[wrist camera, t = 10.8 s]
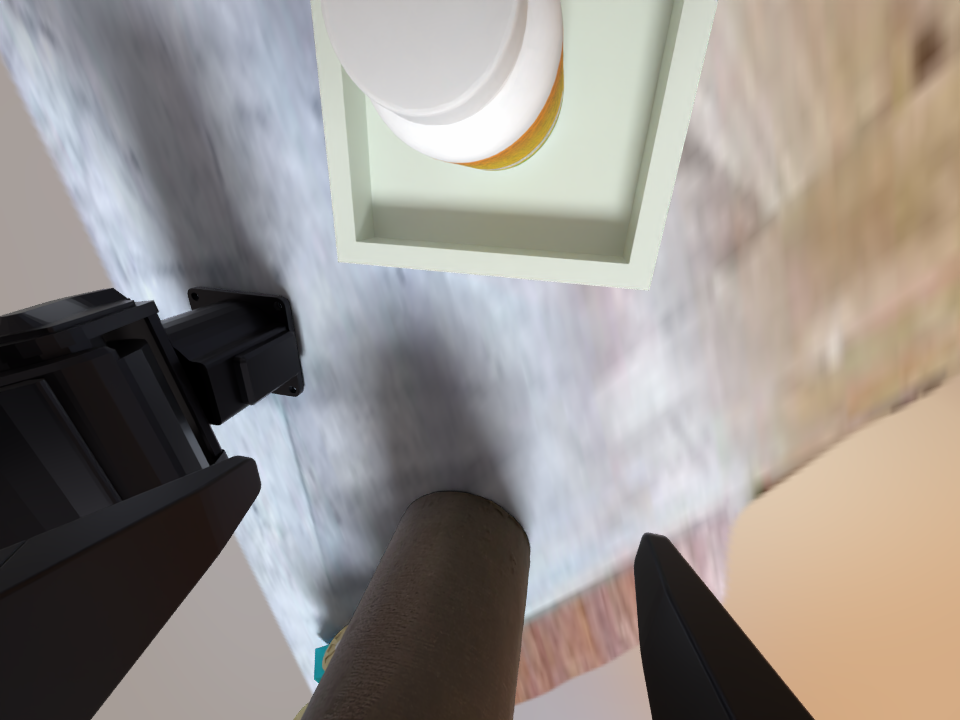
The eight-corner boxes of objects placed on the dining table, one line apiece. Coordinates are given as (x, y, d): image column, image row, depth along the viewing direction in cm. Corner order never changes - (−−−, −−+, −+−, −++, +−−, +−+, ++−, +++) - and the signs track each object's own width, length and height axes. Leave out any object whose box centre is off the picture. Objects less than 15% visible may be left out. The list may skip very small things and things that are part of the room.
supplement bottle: (593, 75, 15) (634, -86, 6) (510, 198, 17) (454, 207, 8) (482, -20, 14) (354, -342, 6) (412, 120, 17) (246, 47, 8)
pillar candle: (508, 482, 25) (436, 833, 11) (545, 587, 28) (524, 957, 14) (380, 495, 28) (202, 785, 14) (427, 589, 31) (318, 897, 17)
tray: (363, 254, 20) (338, 261, 18) (333, -126, 14) (291, -184, 12) (638, 278, 18) (649, 290, 16) (735, -160, 12) (775, -238, 10)
